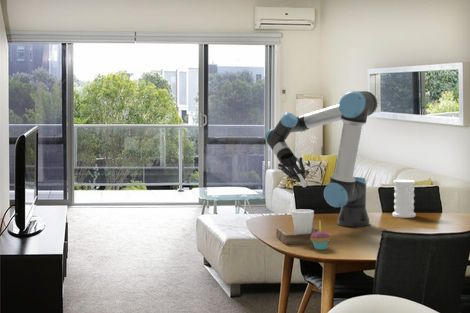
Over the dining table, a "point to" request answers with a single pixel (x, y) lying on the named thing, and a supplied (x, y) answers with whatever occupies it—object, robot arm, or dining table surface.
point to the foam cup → (302, 221)
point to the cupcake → (320, 239)
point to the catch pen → (295, 237)
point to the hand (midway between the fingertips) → (304, 185)
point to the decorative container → (404, 198)
